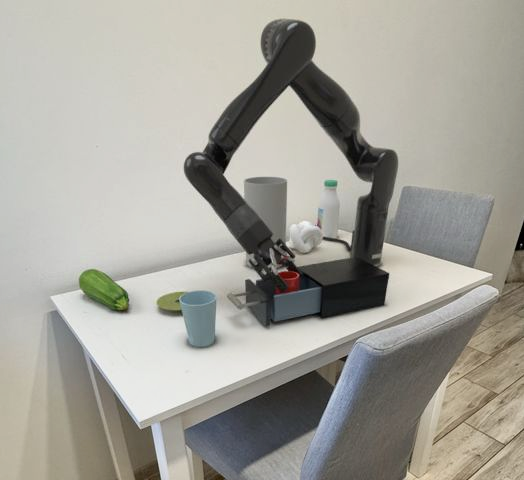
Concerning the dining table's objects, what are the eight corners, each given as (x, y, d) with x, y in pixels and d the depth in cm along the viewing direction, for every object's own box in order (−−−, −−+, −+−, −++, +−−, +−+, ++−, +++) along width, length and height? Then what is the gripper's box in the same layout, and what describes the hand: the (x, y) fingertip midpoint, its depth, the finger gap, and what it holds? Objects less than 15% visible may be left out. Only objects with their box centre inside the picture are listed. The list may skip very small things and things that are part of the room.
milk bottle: (339, 235, 161) (344, 179, 150) (333, 241, 155) (338, 183, 144) (320, 233, 163) (323, 178, 153) (313, 238, 157) (317, 181, 147)
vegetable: (89, 260, 113) (127, 281, 101) (105, 279, 118) (143, 301, 106) (68, 278, 111) (104, 302, 98) (85, 297, 116) (122, 321, 104)
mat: (153, 302, 110) (152, 295, 109) (195, 295, 114) (194, 288, 113) (162, 320, 101) (161, 313, 100) (207, 311, 105) (207, 304, 104)
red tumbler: (272, 303, 104) (272, 273, 100) (291, 300, 106) (292, 269, 102) (281, 312, 100) (282, 280, 96) (301, 308, 102) (303, 277, 97)
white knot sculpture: (310, 257, 139) (311, 230, 134) (278, 251, 144) (279, 225, 140) (325, 248, 147) (327, 222, 142) (295, 243, 153) (295, 218, 148)
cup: (177, 339, 93) (172, 296, 87) (206, 329, 97) (203, 287, 92) (196, 353, 88) (191, 308, 83) (226, 341, 92) (223, 298, 87)
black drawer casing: (321, 319, 101) (323, 285, 97) (294, 297, 112) (296, 266, 107) (384, 305, 108) (389, 273, 103) (353, 286, 118) (357, 256, 114)
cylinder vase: (261, 254, 142) (260, 175, 129) (292, 262, 136) (295, 179, 123) (238, 265, 133) (234, 181, 120) (270, 273, 127) (270, 185, 114)
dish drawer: (242, 331, 94) (241, 303, 91) (224, 309, 104) (222, 283, 100) (331, 312, 102) (334, 286, 99) (306, 293, 112) (308, 269, 108)
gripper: (243, 226, 90) (292, 285, 91) (271, 211, 101) (314, 264, 102) (223, 247, 94) (269, 303, 96) (252, 231, 105) (293, 281, 107)
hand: (292, 283), depth 99 cm, fingers open, 8 cm apart
